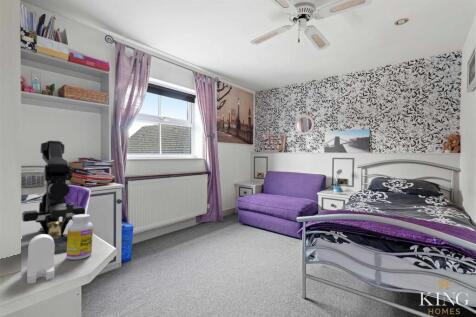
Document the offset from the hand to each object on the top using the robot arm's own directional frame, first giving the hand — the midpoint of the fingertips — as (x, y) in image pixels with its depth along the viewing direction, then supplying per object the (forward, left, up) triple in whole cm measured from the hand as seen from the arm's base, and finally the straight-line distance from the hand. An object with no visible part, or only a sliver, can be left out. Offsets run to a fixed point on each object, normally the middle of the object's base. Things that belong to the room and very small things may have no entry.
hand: (54, 235), depth 91 cm
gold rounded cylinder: (0, 0, -1) cm, 1 cm away
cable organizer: (+32, -8, -1) cm, 33 cm away
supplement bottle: (+26, +3, -1) cm, 26 cm away
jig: (+11, 0, -1) cm, 11 cm away
